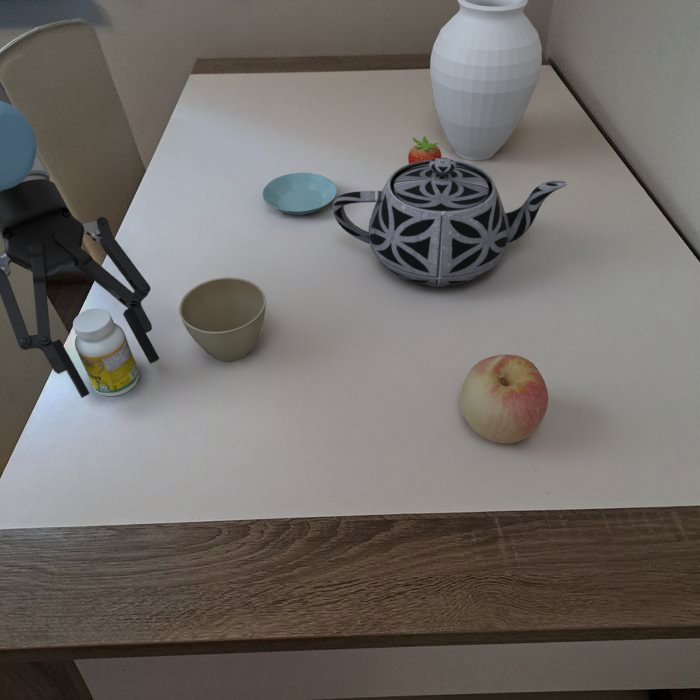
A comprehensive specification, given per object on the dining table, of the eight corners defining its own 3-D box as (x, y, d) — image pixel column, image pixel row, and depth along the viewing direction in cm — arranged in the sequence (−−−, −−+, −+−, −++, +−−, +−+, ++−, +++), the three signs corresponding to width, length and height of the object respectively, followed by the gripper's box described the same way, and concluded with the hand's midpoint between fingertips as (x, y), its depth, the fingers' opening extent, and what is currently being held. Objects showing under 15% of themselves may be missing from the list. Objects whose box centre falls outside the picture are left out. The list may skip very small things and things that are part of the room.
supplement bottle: (148, 381, 76) (126, 319, 69) (106, 405, 73) (80, 343, 67) (125, 358, 79) (102, 297, 72) (85, 381, 76) (57, 319, 70)
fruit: (439, 175, 110) (442, 130, 104) (439, 190, 106) (443, 144, 100) (407, 174, 110) (409, 129, 104) (406, 190, 106) (408, 144, 101)
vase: (489, 121, 124) (507, -25, 107) (546, 161, 112) (577, 3, 95) (407, 141, 119) (413, -9, 102) (458, 184, 107) (474, 23, 90)
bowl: (179, 372, 77) (165, 327, 72) (207, 317, 84) (196, 273, 79) (259, 381, 76) (251, 336, 71) (281, 325, 83) (275, 280, 78)
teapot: (565, 300, 85) (592, 199, 74) (332, 301, 86) (326, 202, 75) (538, 221, 98) (557, 127, 88) (337, 223, 100) (333, 130, 89)
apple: (523, 390, 73) (535, 338, 68) (551, 451, 67) (567, 400, 61) (448, 399, 73) (454, 347, 67) (470, 463, 66) (478, 411, 61)
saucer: (351, 198, 105) (351, 185, 103) (305, 231, 98) (304, 218, 97) (296, 178, 110) (295, 165, 109) (249, 208, 103) (247, 195, 102)
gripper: (105, 175, 78) (195, 342, 80) (-76, 237, 69) (30, 424, 71) (110, 149, 71) (209, 333, 73) (-89, 214, 62) (28, 421, 64)
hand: (121, 377), depth 72 cm, fingers open, 7 cm apart
